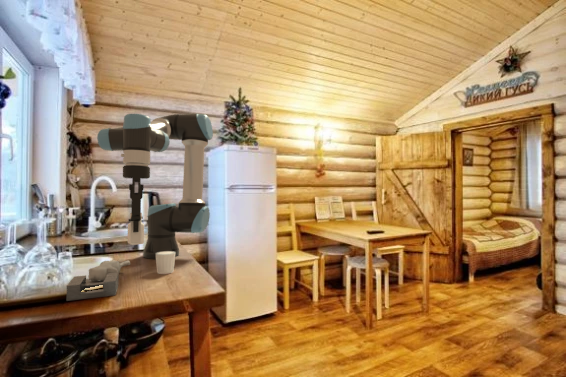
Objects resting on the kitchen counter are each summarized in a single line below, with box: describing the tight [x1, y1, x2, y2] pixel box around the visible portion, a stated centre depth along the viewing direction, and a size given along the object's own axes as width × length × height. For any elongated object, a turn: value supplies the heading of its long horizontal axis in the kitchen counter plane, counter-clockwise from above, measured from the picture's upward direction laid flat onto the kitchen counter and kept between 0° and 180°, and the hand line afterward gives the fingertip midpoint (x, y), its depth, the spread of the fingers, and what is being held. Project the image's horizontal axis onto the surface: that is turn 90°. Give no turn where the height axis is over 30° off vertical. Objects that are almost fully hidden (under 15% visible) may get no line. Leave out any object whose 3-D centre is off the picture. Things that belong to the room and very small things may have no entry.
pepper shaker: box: [127, 212, 145, 246], centre depth 94 cm, size 4×4×10 cm
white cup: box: [155, 251, 176, 275], centre depth 111 cm, size 7×7×7 cm
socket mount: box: [65, 273, 119, 302], centre depth 88 cm, size 10×12×4 cm
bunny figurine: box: [88, 259, 131, 282], centre depth 105 cm, size 10×5×15 cm
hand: (135, 241), depth 94 cm, fingers closed on pepper shaker, 4 cm apart
